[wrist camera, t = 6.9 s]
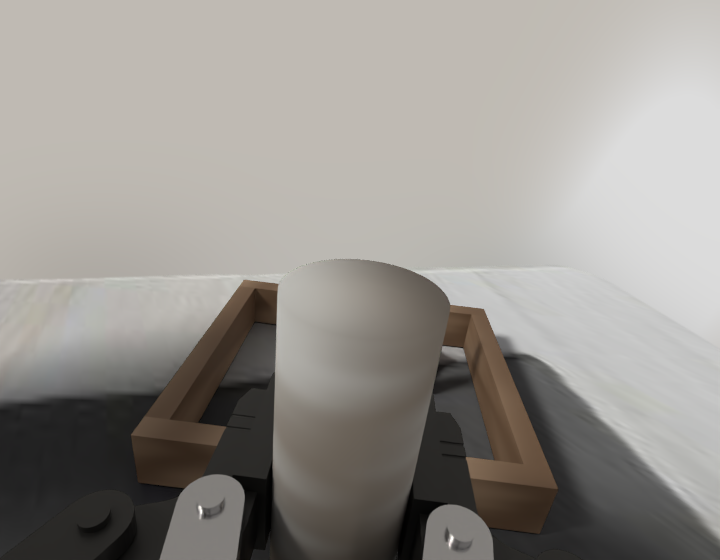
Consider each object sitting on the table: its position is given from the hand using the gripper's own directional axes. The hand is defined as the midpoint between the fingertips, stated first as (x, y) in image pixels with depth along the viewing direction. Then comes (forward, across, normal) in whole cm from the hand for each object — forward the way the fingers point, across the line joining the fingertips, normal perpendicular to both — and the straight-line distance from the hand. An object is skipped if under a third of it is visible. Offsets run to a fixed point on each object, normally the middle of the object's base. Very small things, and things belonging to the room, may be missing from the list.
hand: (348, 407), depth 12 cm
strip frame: (+6, 0, +7) cm, 9 cm away
